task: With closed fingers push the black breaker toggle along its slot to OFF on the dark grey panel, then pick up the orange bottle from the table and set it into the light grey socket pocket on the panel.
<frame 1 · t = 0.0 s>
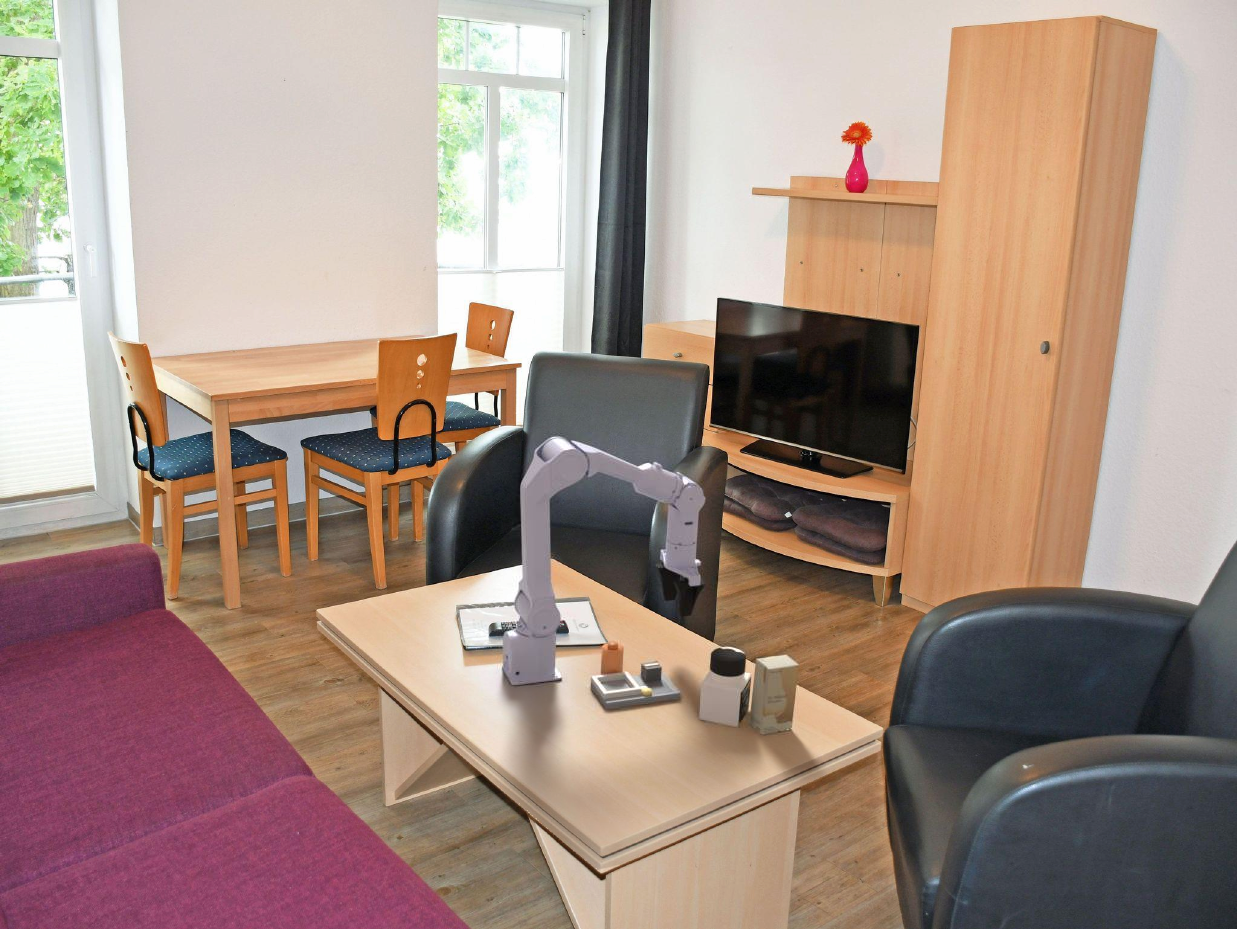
hand: (677, 607, 208), 10 cm above the table, fingers open, 7 cm apart
skincare box: (771, 727, 186), on the table
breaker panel: (635, 693, 195), on the table
breaker toggle: (651, 671, 198), point 3 cm above the table, slide at 0.0 cm
orange bottle: (611, 677, 201), on the table
medicine bottle: (723, 716, 189), on the table
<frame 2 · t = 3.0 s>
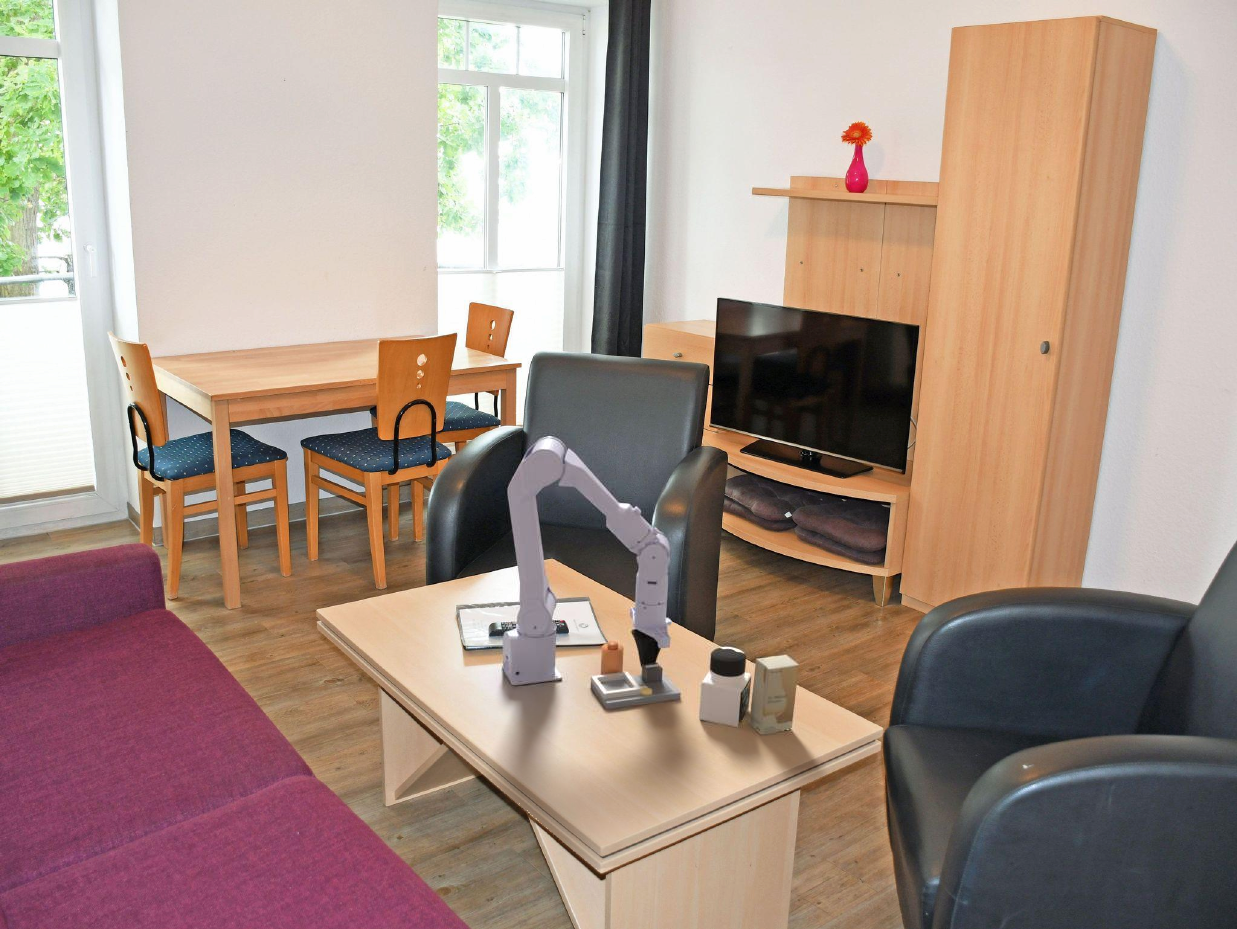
hand: (647, 668, 200), 2 cm above the table, fingers closed
breaker toggle: (652, 672, 198), point 3 cm above the table, slide at 0.4 cm, touching gripper
everything else where it was.
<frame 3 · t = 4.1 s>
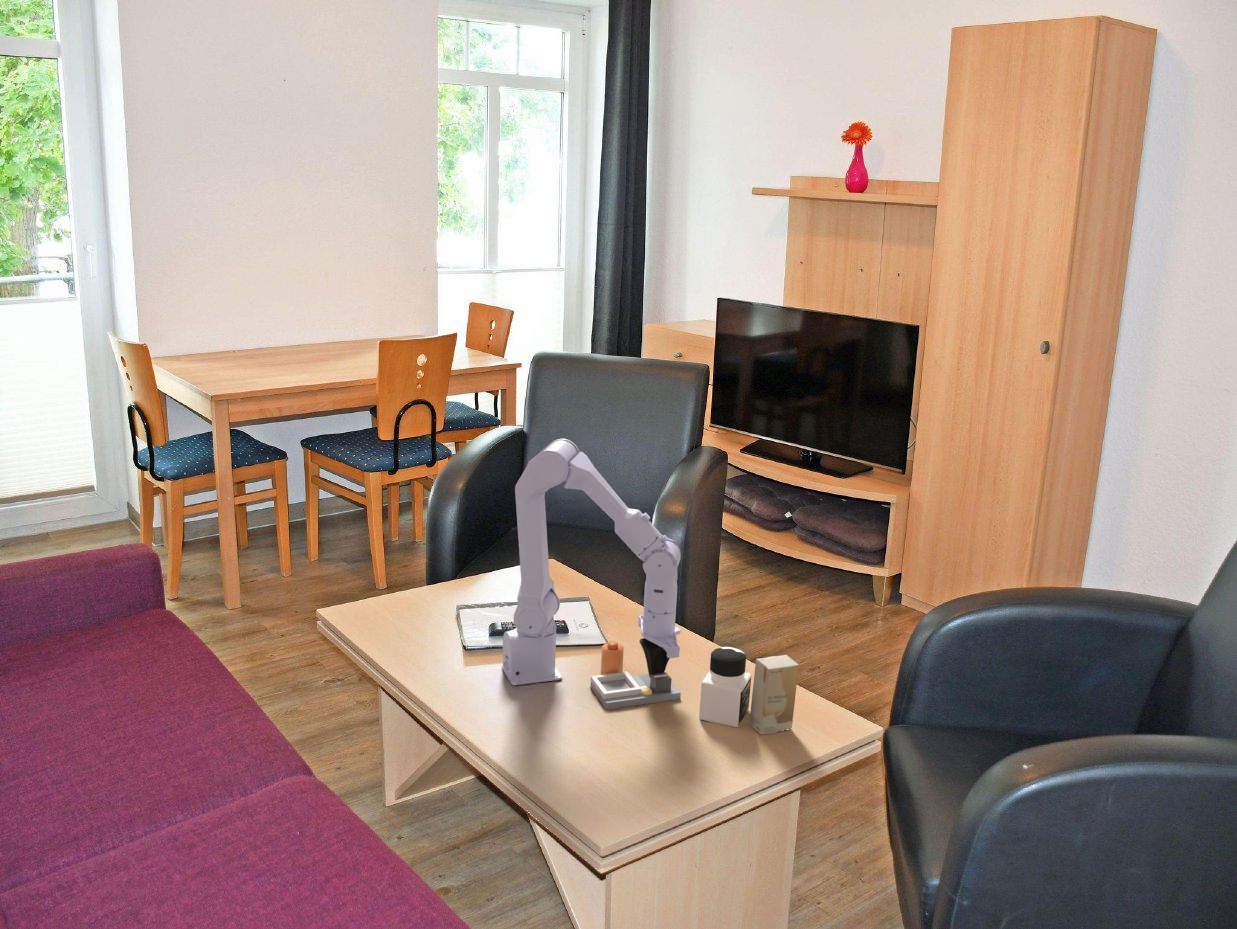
hand: (655, 677, 196), 2 cm above the table, fingers closed
breaker toggle: (660, 682, 194), point 3 cm above the table, slide at 4.5 cm, touching gripper
everything else where it was.
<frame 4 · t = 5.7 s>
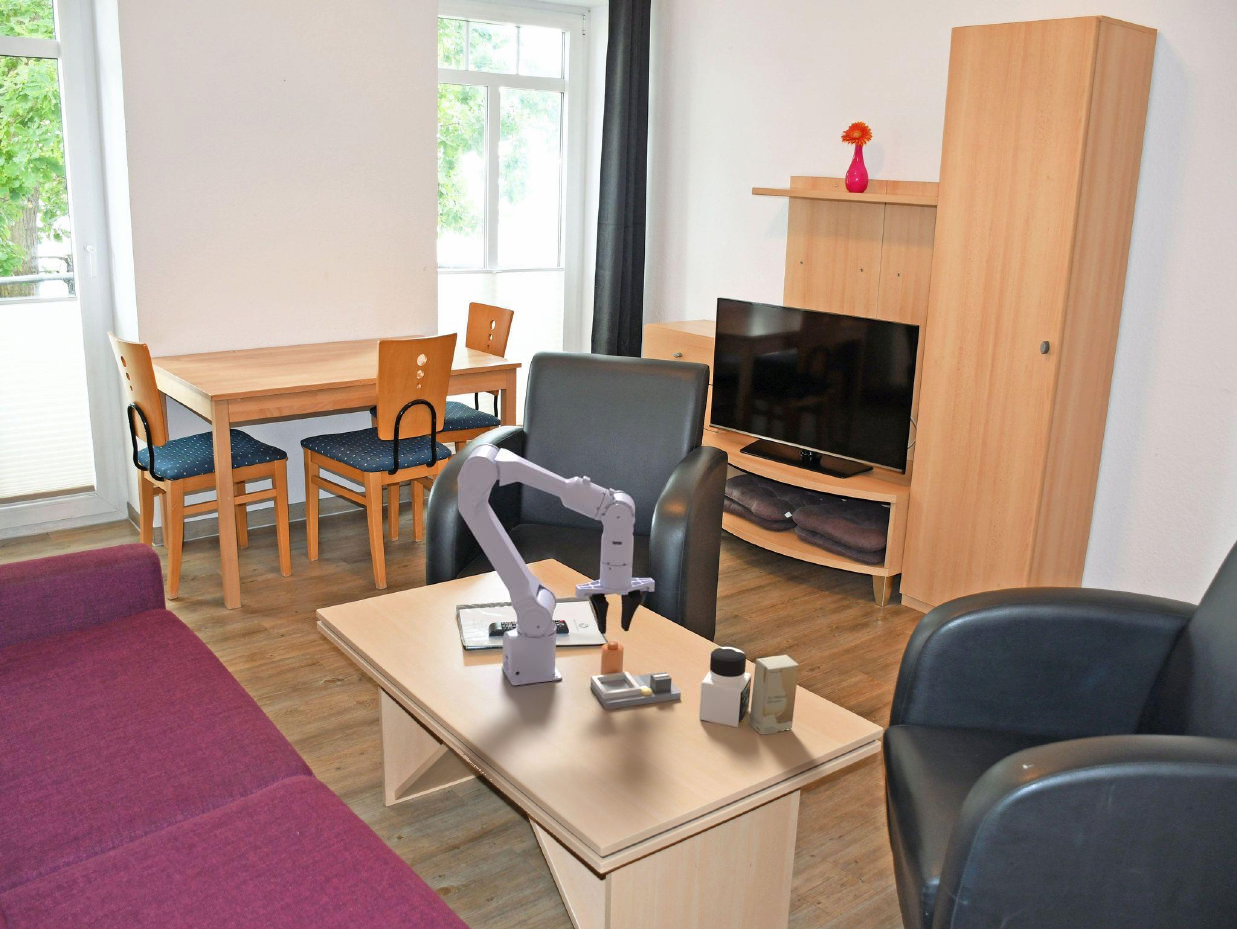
hand: (613, 630, 198), 9 cm above the table, fingers open, 4 cm apart
breaker toggle: (660, 682, 194), point 3 cm above the table, slide at 4.5 cm
everything else where it was.
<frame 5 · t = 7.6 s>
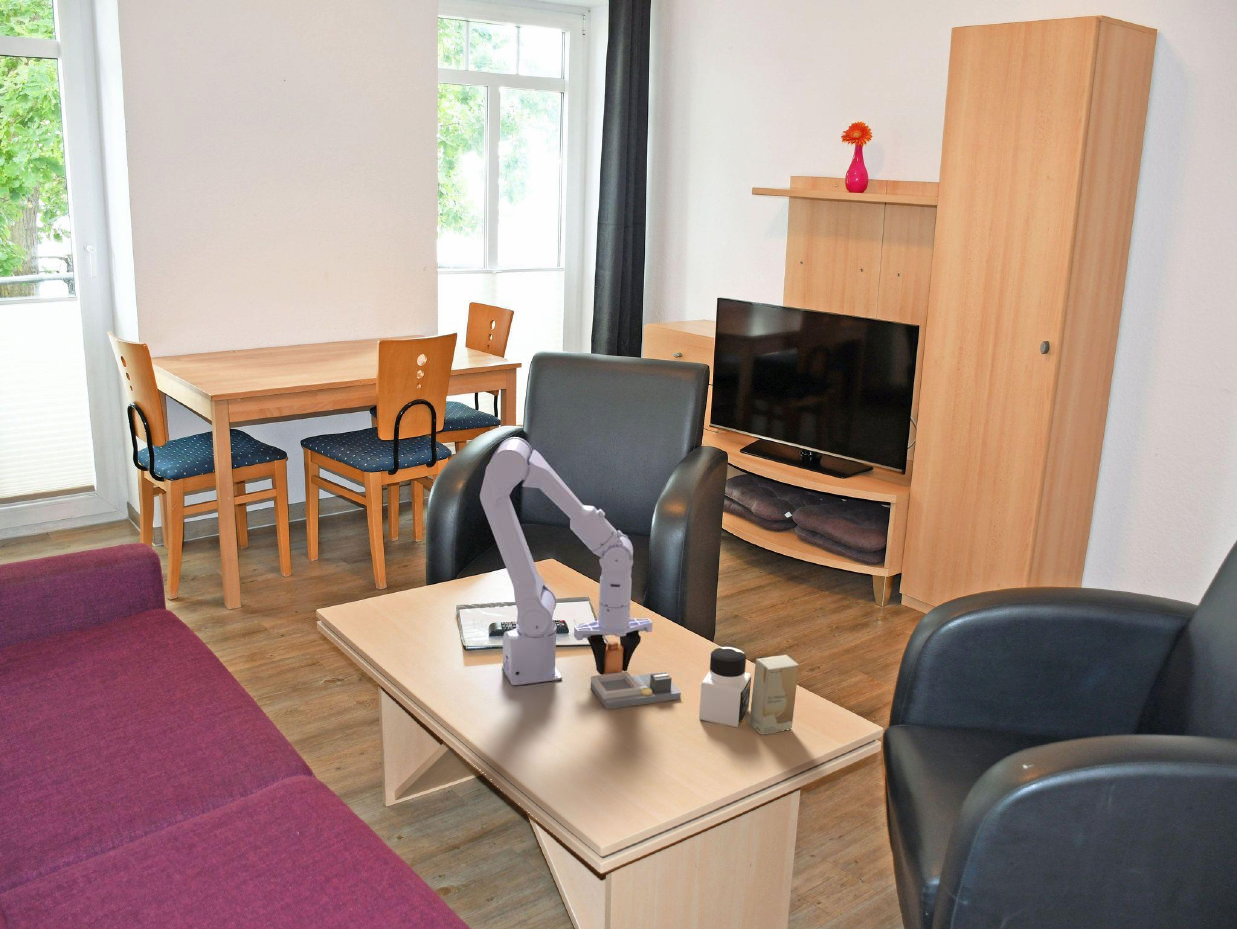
hand: (611, 670, 200), 1 cm above the table, fingers closed on orange bottle, 4 cm apart
orange bottle: (611, 677, 201), on the table, touching gripper
everything else where it was.
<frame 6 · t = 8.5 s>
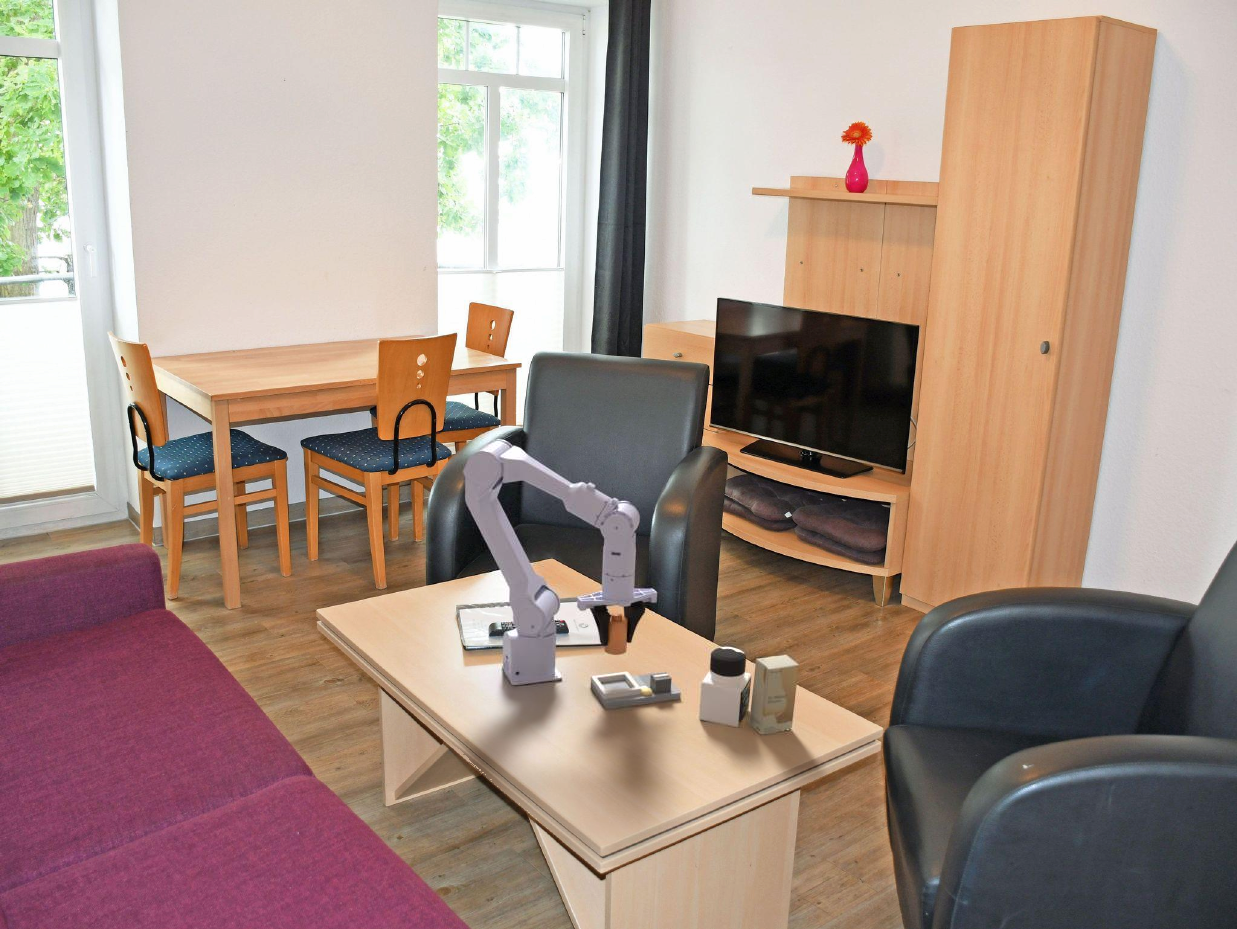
hand: (615, 642, 196), 8 cm above the table, fingers closed on orange bottle, 4 cm apart
orange bottle: (615, 650, 196), point 7 cm above the table, touching gripper
everything else where it was.
when the fingers open (5 cm above the table, at t = 9.8 s): orange bottle drops 1 cm, resting on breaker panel.
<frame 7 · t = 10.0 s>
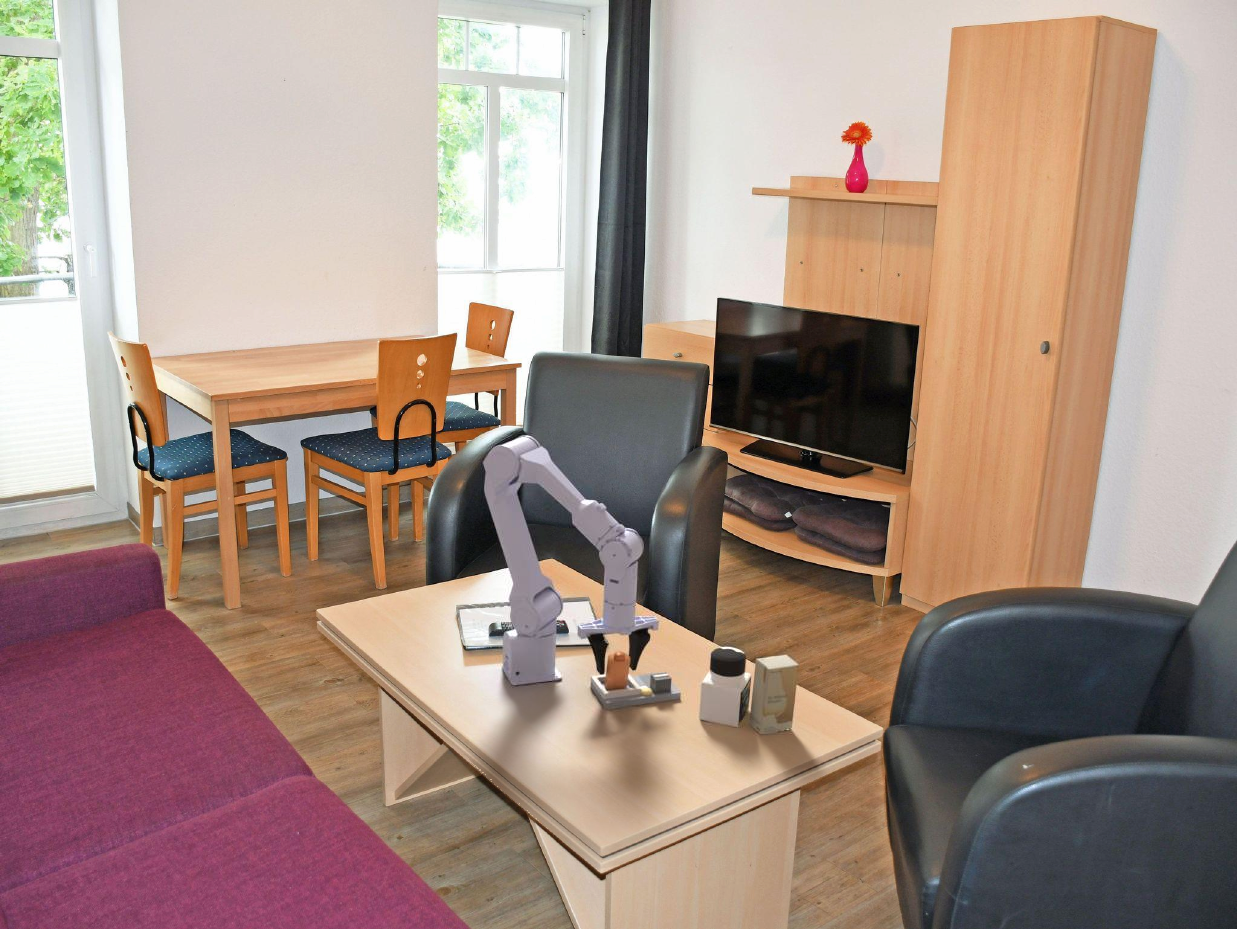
hand: (616, 670, 193), 5 cm above the table, fingers open, 5 cm apart
orange bottle: (615, 685, 194), point 2 cm above the table, tilted 11°, touching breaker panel
everything else where it was.
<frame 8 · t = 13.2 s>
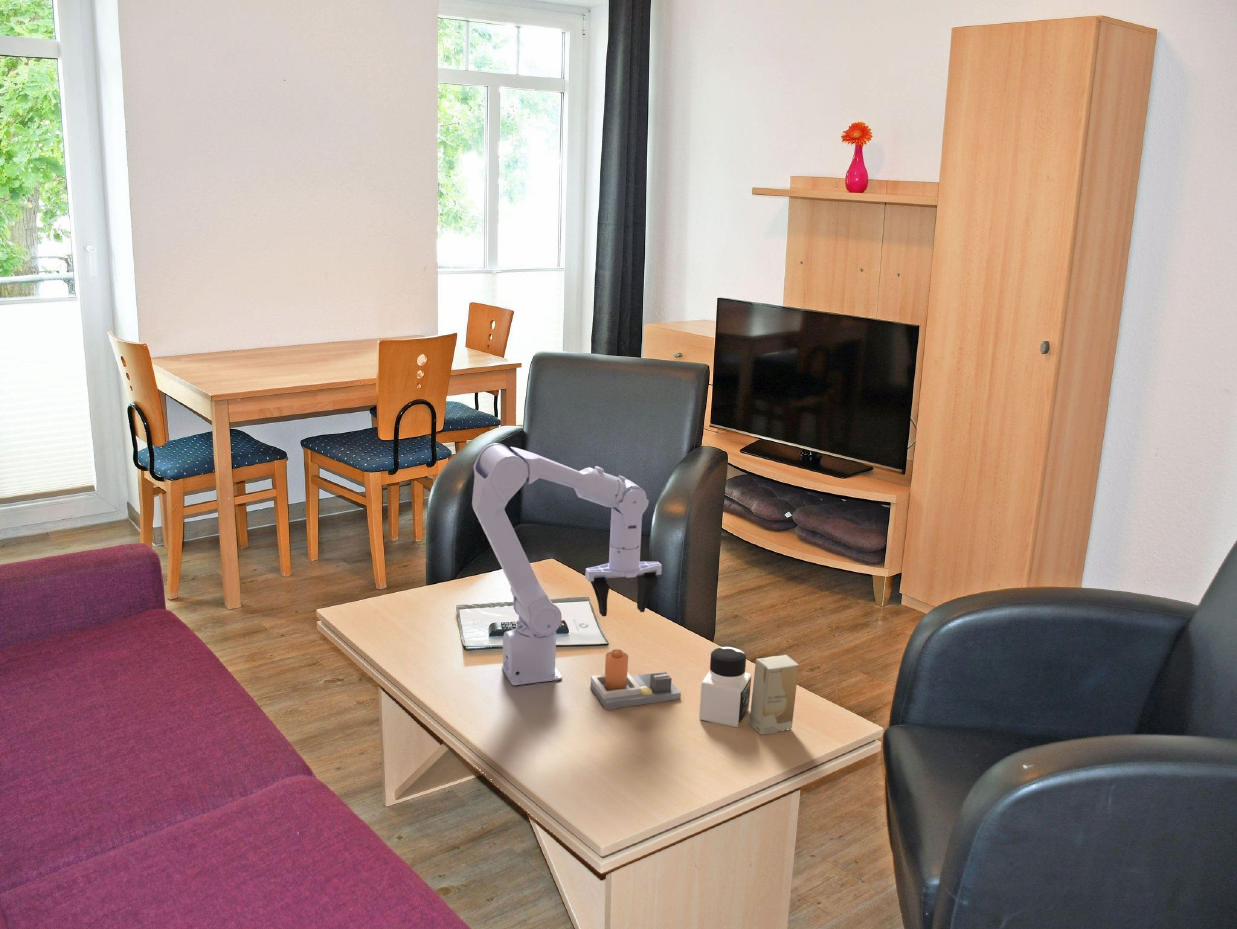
hand: (621, 612, 205), 10 cm above the table, fingers open, 7 cm apart
orange bottle: (615, 687, 194), point 1 cm above the table, touching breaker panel
everything else where it was.
at the end: breaker toggle slide at 4.5 cm; orange bottle 0.1 cm from the target spot on the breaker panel, point 1.3 cm above the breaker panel's base; orange bottle tilted 2° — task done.
